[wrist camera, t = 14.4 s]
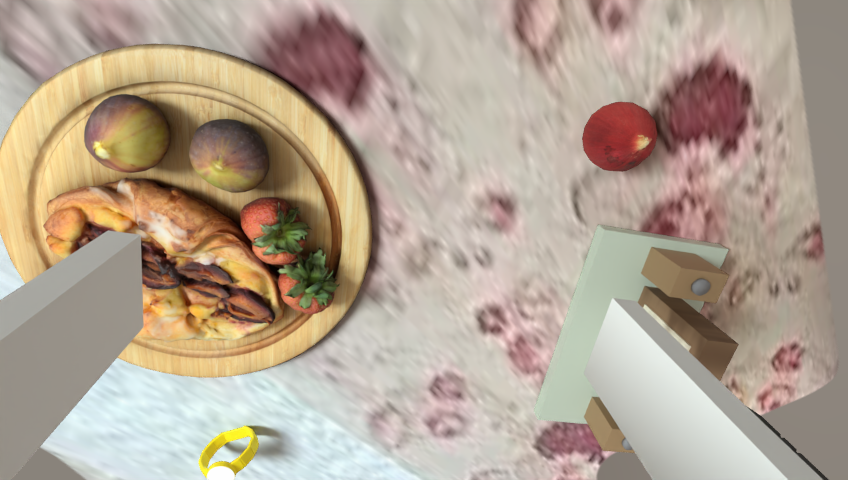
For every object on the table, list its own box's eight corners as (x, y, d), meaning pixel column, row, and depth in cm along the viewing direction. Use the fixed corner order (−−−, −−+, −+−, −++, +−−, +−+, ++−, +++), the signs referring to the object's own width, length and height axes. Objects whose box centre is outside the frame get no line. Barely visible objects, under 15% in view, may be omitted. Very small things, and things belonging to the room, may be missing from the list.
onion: (621, 162, 44) (670, 183, 37) (564, 160, 44) (602, 181, 36) (635, 100, 42) (689, 109, 35) (575, 96, 42) (617, 105, 34)
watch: (255, 415, 52) (245, 457, 46) (265, 433, 53) (256, 475, 48) (204, 432, 52) (187, 476, 46) (215, 450, 53) (199, 495, 47)
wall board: (597, 224, 47) (632, 251, 40) (718, 244, 49) (770, 272, 42) (533, 410, 55) (554, 457, 49) (639, 419, 57) (672, 465, 51)
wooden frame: (643, 285, 48) (706, 340, 39) (671, 289, 49) (740, 344, 39) (602, 385, 53) (650, 455, 43) (628, 388, 53) (681, 458, 44)
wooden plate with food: (100, 391, 49) (51, 453, 41) (-69, 77, 36) (-183, 84, 29) (396, 334, 50) (402, 384, 43) (332, 16, 38) (323, 7, 30)
